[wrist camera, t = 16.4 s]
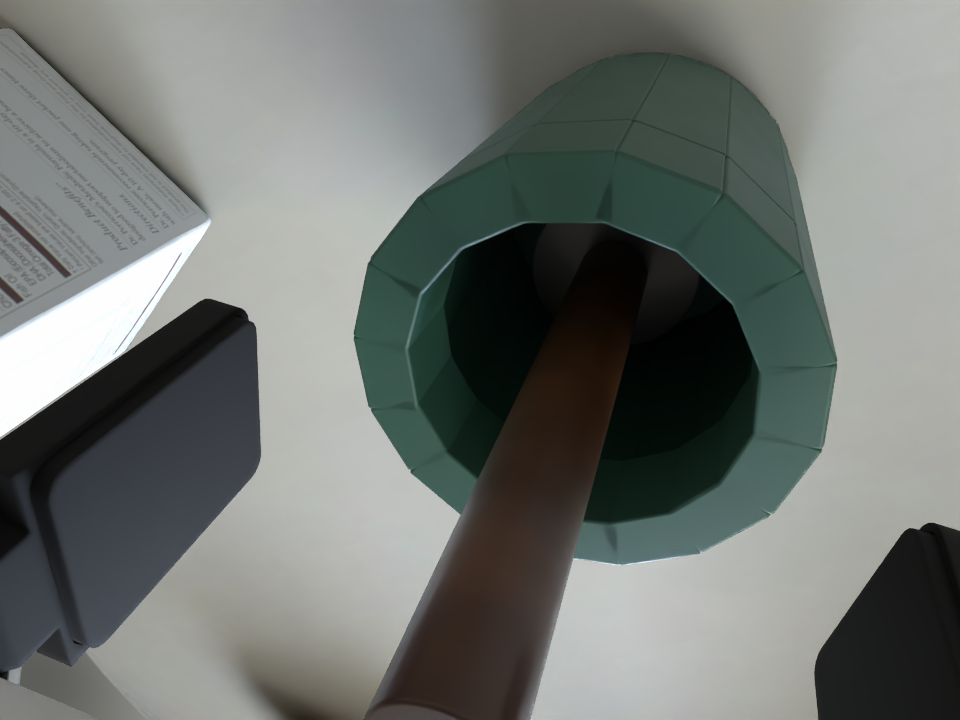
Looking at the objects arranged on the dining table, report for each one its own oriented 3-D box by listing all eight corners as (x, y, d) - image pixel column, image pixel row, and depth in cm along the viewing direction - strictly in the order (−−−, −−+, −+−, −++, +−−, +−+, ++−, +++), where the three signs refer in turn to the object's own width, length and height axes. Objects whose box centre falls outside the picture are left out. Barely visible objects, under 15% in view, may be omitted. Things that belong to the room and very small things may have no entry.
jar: (451, 206, 22) (283, 368, 14) (639, -22, 18) (552, 24, 9) (637, 376, 23) (582, 617, 15) (862, 204, 19) (957, 418, 10)
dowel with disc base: (536, 216, 21) (200, 694, 8) (634, 113, 19) (388, 546, 6) (633, 306, 21) (468, 896, 8) (740, 217, 19) (738, 832, 6)
